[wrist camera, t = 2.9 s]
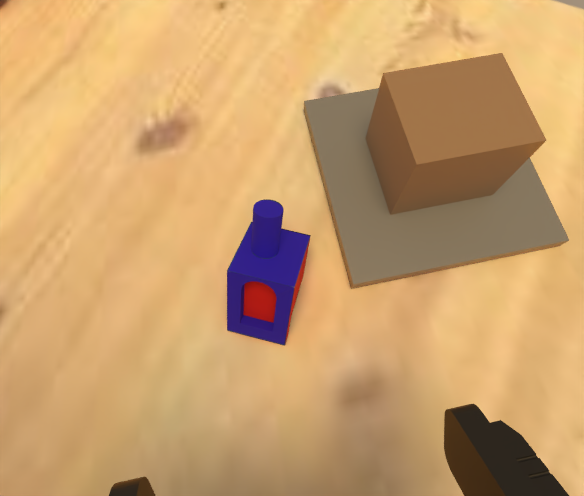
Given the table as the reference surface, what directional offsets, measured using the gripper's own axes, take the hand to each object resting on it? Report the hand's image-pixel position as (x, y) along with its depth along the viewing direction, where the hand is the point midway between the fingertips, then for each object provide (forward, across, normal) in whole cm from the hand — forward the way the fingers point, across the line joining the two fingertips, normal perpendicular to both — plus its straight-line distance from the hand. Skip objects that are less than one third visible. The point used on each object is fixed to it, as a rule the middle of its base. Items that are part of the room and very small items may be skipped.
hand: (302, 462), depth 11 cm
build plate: (+19, -12, -1) cm, 22 cm away
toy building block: (+15, 0, +3) cm, 15 cm away
